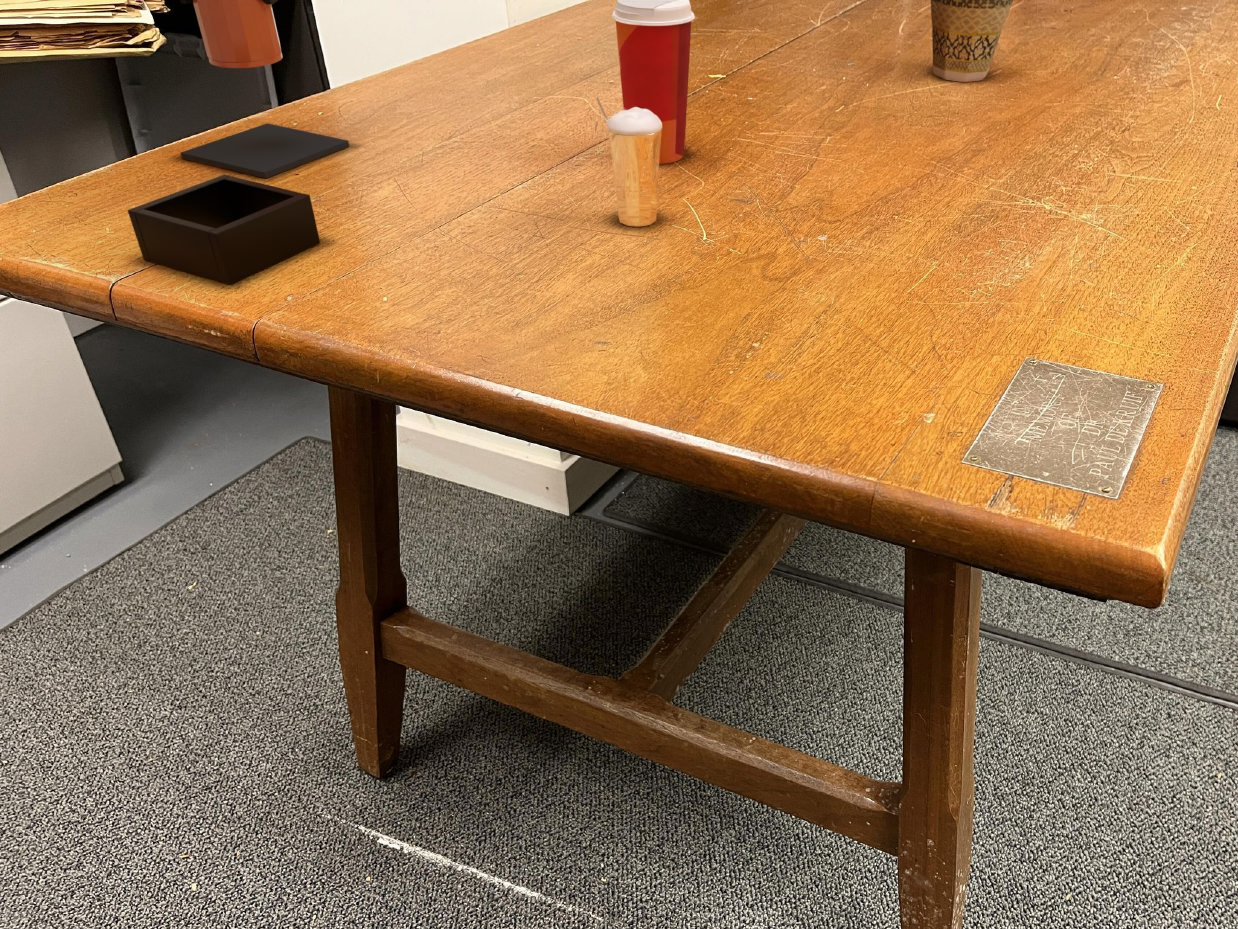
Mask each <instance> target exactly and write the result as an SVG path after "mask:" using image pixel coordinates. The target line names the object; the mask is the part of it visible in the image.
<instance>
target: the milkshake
mask: <svg viewBox="0 0 1238 929" xmlns="http://www.w3.org/2000/svg"><path fill="white" fill-rule="evenodd" d="M595 99H596V101H597V104H598V106H599V108H600V110H601V113H602V115H603V117H604V119H605V122H606V129H607V136H608V137H607V138H608V143H609V144H608V145H609V150H610V156H611V161H612V162H611V164H612V169H613V170H612V171H613V179H614V187H615V189H614V190H615V197H616V206H617V215H618V219H619V223H620V224H621V225H625V226H628V227H639V228H641V227H645V226H650V225H652V224H653V223H655V222H657V212H658V211H657V210H658V208H657V207H658V192H659V174H660V173H659V172H660V164H659V159H660V148H661V136H662V122H661V120H660V119H659V118H658V117H657V116H656V115H655V114H654V113H652V112H651V111H650V110H648V109H641V108H638V107H633V108H631V109H629V110H624V109H622V110H619V111H618V112H616V113H615V114H613V115H612V116H610V118H609V119H608V117H607V114H606V112H605V110H604V108H603V106H602V103H601V101H600V99H599V96H597V97H595Z"/></svg>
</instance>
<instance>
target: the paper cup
mask: <svg viewBox="0 0 1238 929" xmlns="http://www.w3.org/2000/svg"><path fill="white" fill-rule="evenodd" d="M611 18H612V19H613V20H614V21H615V29H616V31H615V32H616V41H617V51H618V52H617V53H618V63H619V74H620V75H619V76H620V83H621V84H620V86H621V87H620V88H621V96H622V107H623V110H629V109H631V108H633V107H638V108H641V109H648V110H650V111H651V112H652V113H654V114H655V115H656V116H657V117H658V118H659V119H660V120H661V122H662V136H661V148H660V159H659V165H664V164H670V163H675V162H677V161H680V160H682V159H683V157H684V154H685V146H686V145H685V144H686V143H685V142H686V130H687V129H686V128H687V110H688V93H689V92H688V91H689V76H690V75H689V74H690V56H691V38H692V36H691V34H692V21H693V20H695V19H696V15H695V13H694V12H693V11H692V7H691V1H690V0H616V3H615V8H614V11H613V12H612V14H611Z"/></svg>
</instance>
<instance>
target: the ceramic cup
mask: <svg viewBox="0 0 1238 929" xmlns="http://www.w3.org/2000/svg"><path fill="white" fill-rule="evenodd" d="M1013 1H1014V0H930V17H931V18H930V19H931V38H932V40H931V41H932V72H933V74H934V76H937V77H938V78H941V79H943V80H947V81H951V82H952V81H953V82H961V83H967V82H969V83H970V82H979V81H983V80H984V79H985V78H986V76H987V75H988V73H989V70H990V67H991V65H992V61H993V59H994V55H995V52H996V49H997V46H998V44H999V40H1000V37H1001V34H1002V31H1003V28H1004V26H1005V23H1006V21H1007V19H1008V17H1009V14H1010V10H1011V7H1012V5H1013Z"/></svg>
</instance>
